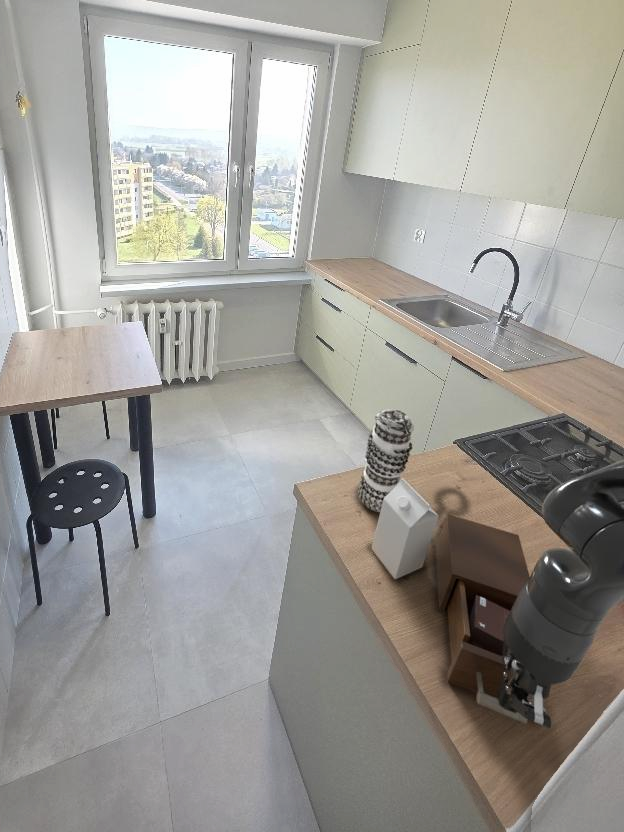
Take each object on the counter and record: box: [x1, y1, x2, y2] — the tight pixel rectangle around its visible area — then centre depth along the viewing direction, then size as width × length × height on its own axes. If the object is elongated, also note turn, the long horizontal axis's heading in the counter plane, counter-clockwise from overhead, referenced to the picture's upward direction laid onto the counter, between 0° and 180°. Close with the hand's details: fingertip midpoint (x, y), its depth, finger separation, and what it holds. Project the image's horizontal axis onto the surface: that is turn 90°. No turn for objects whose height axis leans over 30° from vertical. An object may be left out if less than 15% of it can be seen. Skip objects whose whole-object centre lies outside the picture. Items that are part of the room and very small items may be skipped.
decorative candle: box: [357, 408, 416, 513], centre depth 94 cm, size 9×9×25 cm
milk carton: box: [371, 477, 440, 580], centre depth 81 cm, size 7×7×19 cm
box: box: [468, 595, 510, 656], centre depth 68 cm, size 6×6×7 cm
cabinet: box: [435, 513, 531, 611], centre depth 78 cm, size 14×13×11 cm
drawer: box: [446, 579, 529, 725], centre depth 66 cm, size 17×11×9 cm
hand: (506, 702), depth 58 cm, fingers closed
